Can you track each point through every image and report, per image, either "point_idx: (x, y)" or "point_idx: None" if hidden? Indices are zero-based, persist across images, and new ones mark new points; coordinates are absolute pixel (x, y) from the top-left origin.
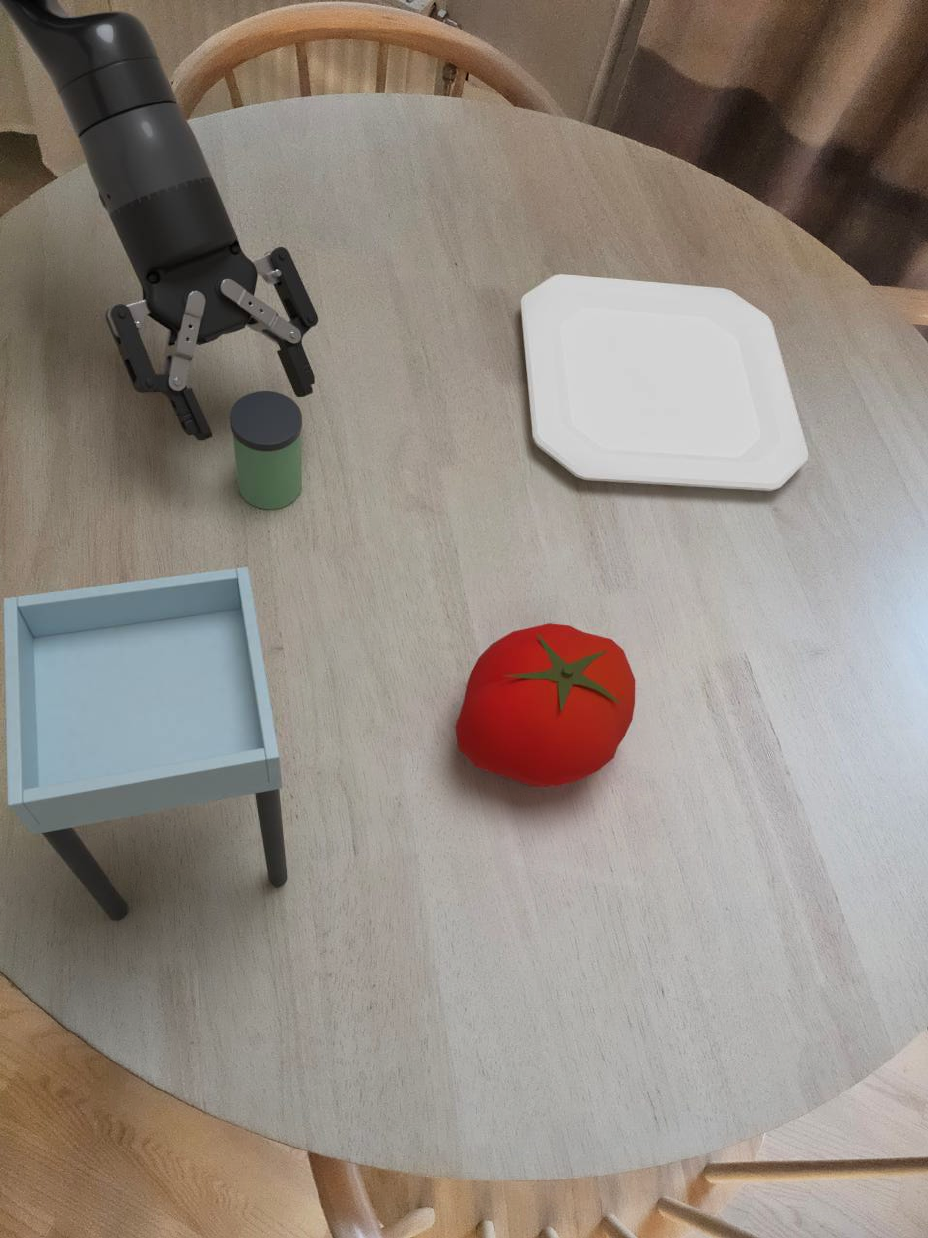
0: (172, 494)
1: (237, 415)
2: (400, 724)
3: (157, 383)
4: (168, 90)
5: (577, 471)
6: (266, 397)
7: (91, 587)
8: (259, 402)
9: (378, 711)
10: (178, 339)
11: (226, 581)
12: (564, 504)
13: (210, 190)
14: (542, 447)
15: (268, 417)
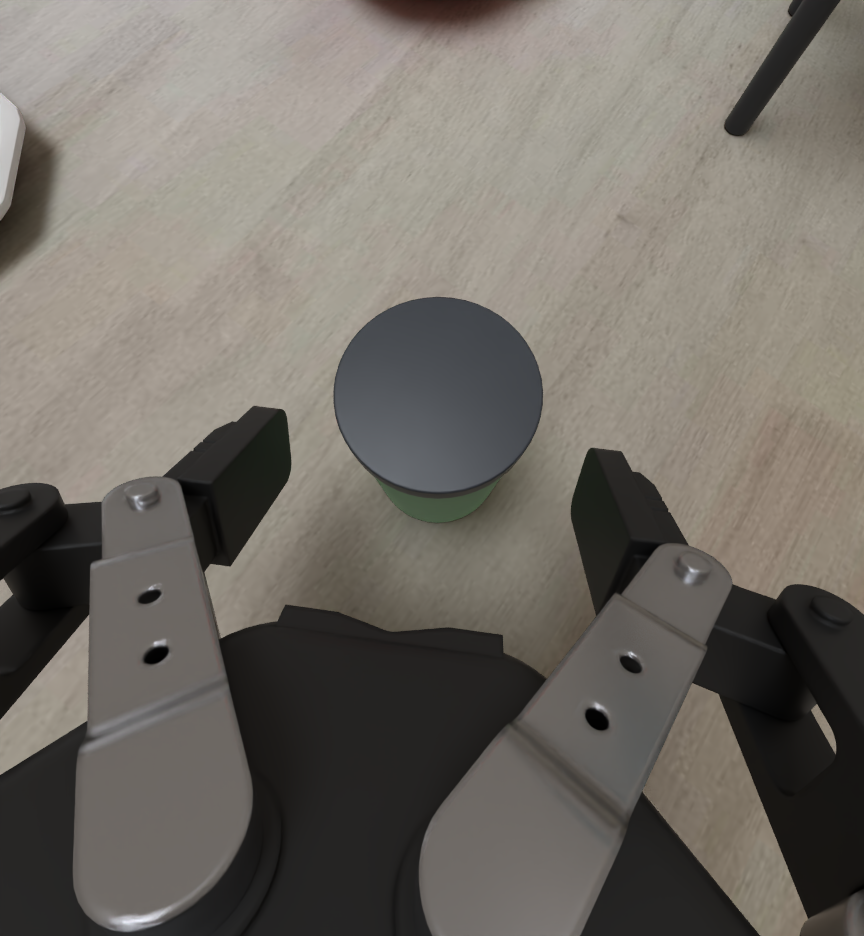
0: None
1: (500, 443)
2: (556, 53)
3: (788, 596)
4: None
5: (13, 117)
6: (387, 447)
7: None
8: (416, 445)
9: (567, 80)
10: (685, 691)
11: None
12: (91, 145)
13: None
14: (7, 189)
15: (432, 385)
